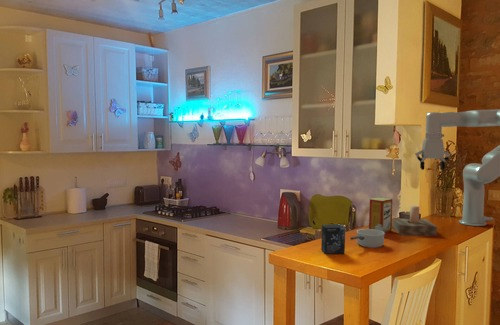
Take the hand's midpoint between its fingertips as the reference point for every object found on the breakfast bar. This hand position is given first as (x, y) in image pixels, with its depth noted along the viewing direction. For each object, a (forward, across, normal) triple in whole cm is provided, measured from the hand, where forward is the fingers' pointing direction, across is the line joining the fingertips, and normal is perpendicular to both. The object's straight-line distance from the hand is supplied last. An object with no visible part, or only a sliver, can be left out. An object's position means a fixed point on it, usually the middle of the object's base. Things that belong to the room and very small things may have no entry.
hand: (432, 169), depth 216 cm
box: (+28, +56, +60) cm, 87 cm away
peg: (+28, +14, +20) cm, 37 cm away
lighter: (+28, +31, +32) cm, 53 cm away
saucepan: (+28, +42, +50) cm, 71 cm away
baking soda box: (+28, +30, +22) cm, 47 cm away
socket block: (+28, +14, +20) cm, 37 cm away
